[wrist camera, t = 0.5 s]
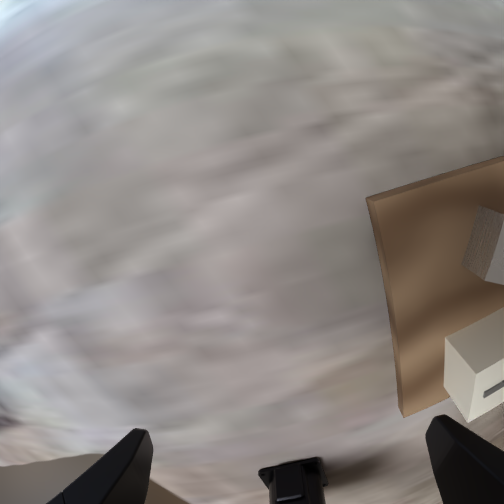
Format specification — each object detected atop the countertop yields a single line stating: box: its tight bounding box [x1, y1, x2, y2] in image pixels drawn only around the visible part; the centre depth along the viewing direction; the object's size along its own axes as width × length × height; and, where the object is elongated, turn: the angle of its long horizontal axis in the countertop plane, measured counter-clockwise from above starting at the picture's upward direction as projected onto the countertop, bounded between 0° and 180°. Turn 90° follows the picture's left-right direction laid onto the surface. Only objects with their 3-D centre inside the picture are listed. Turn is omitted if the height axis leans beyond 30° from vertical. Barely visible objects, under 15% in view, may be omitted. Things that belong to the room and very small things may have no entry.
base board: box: [366, 156, 504, 418], centre depth 21 cm, size 20×16×2 cm
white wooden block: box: [461, 206, 504, 285], centre depth 17 cm, size 2×4×3 cm, turn 169°
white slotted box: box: [444, 307, 504, 423], centre depth 19 cm, size 6×8×5 cm
